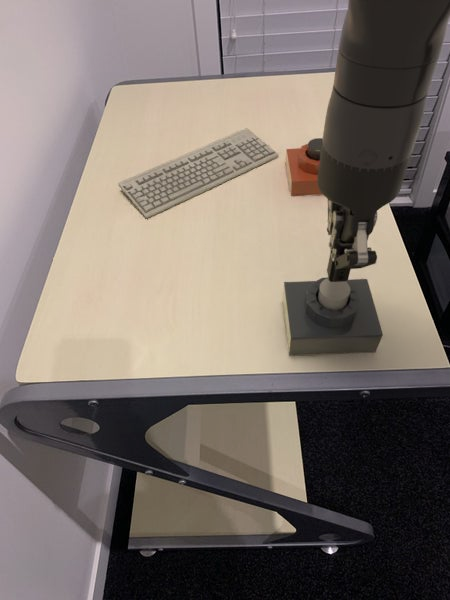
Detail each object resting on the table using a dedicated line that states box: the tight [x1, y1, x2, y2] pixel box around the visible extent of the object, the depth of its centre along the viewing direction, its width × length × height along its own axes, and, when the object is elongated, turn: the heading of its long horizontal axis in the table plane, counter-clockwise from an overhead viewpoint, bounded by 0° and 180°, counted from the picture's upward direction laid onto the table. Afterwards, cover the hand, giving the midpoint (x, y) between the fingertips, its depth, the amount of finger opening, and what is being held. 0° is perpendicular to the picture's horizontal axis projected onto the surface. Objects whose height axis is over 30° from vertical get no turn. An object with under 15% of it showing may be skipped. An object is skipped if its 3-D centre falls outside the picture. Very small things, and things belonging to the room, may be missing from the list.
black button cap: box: [307, 137, 323, 161], centre depth 74 cm, size 4×4×2 cm
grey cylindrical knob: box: [318, 277, 350, 310], centre depth 52 cm, size 4×4×2 cm
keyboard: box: [117, 127, 279, 219], centre depth 80 cm, size 29×10×2 cm, turn 125°
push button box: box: [282, 276, 384, 356], centre depth 55 cm, size 11×9×6 cm
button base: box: [285, 143, 323, 197], centre depth 76 cm, size 10×10×5 cm
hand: (336, 276), depth 50 cm, fingers closed
